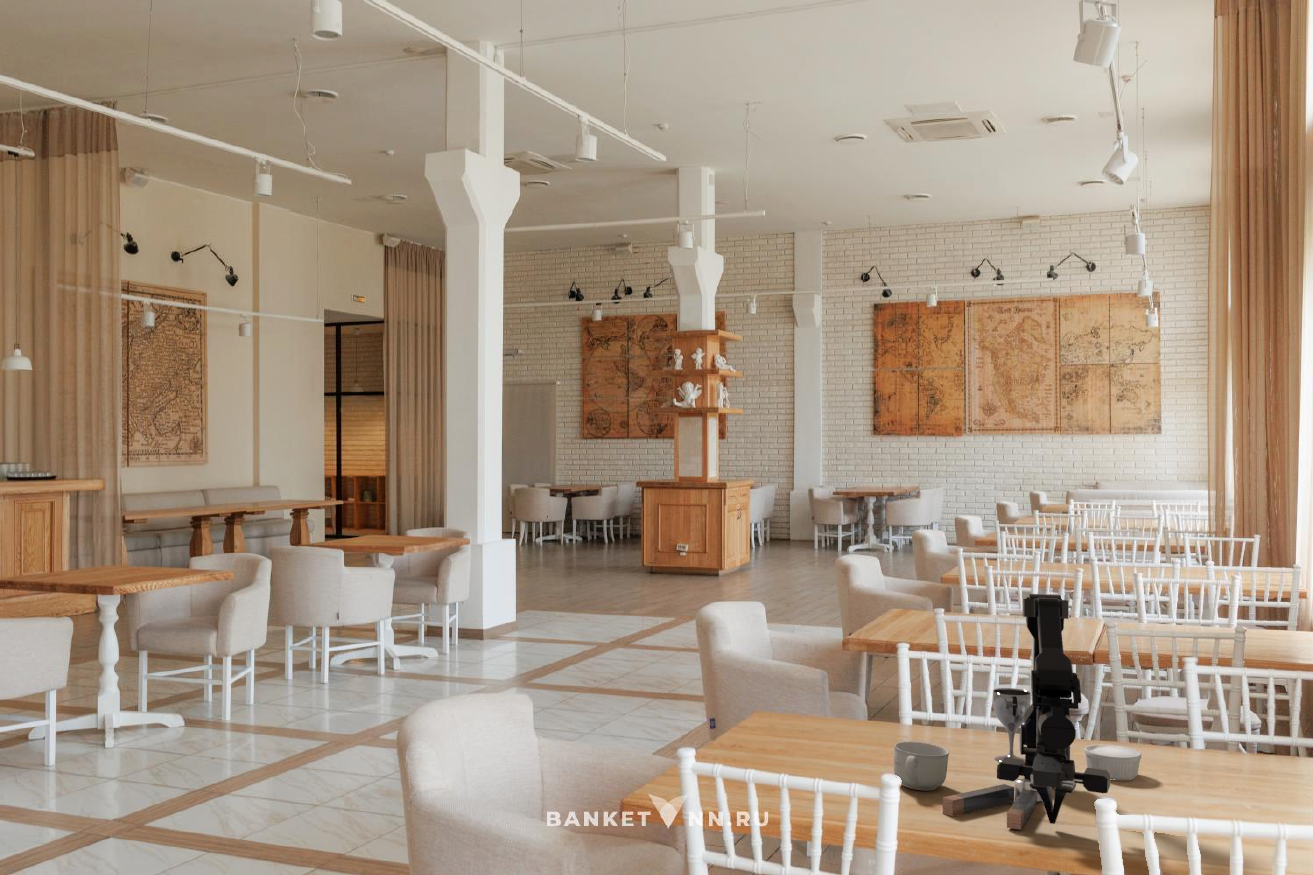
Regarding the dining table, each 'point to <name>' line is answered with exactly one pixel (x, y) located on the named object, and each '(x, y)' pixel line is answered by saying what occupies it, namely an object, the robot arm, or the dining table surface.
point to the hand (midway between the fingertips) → (1052, 822)
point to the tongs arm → (1021, 809)
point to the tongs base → (985, 798)
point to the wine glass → (1011, 712)
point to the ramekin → (1114, 760)
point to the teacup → (920, 765)
